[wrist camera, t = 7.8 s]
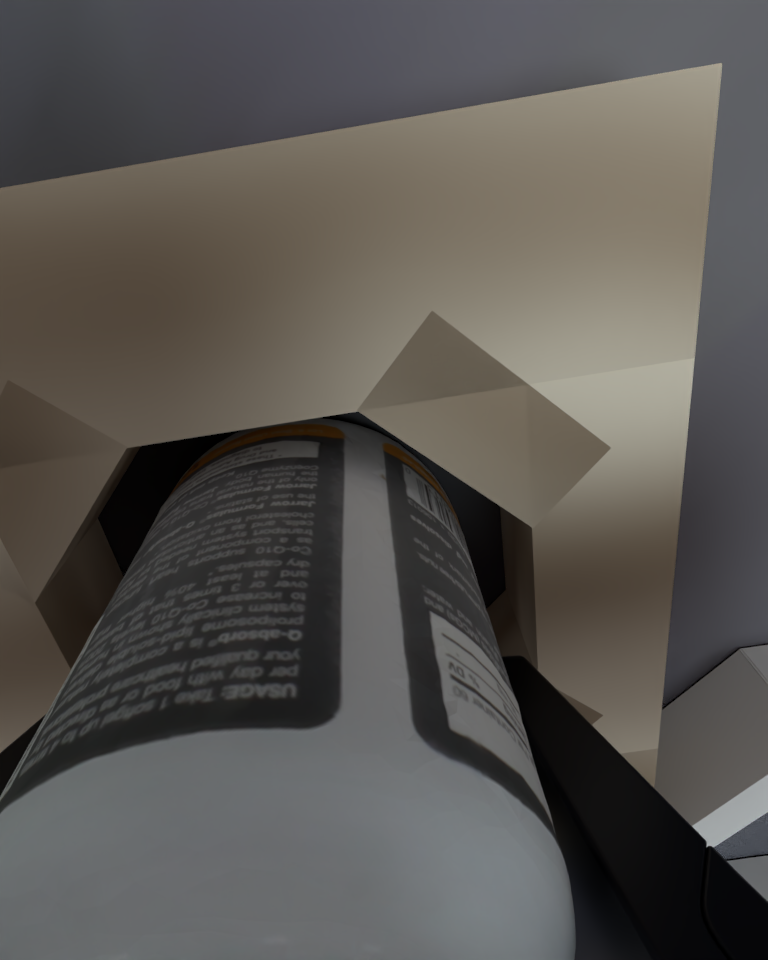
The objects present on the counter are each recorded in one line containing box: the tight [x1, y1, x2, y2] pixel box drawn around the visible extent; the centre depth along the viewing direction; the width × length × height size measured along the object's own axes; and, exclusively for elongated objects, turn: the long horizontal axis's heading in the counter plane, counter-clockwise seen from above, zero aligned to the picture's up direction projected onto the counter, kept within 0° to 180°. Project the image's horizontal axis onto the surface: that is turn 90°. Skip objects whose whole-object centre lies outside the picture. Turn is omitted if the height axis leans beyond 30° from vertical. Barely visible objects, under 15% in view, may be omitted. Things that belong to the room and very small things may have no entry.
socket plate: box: [0, 63, 722, 787], centre depth 11 cm, size 14×12×2 cm
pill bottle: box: [0, 418, 576, 960], centre depth 7 cm, size 6×6×10 cm
